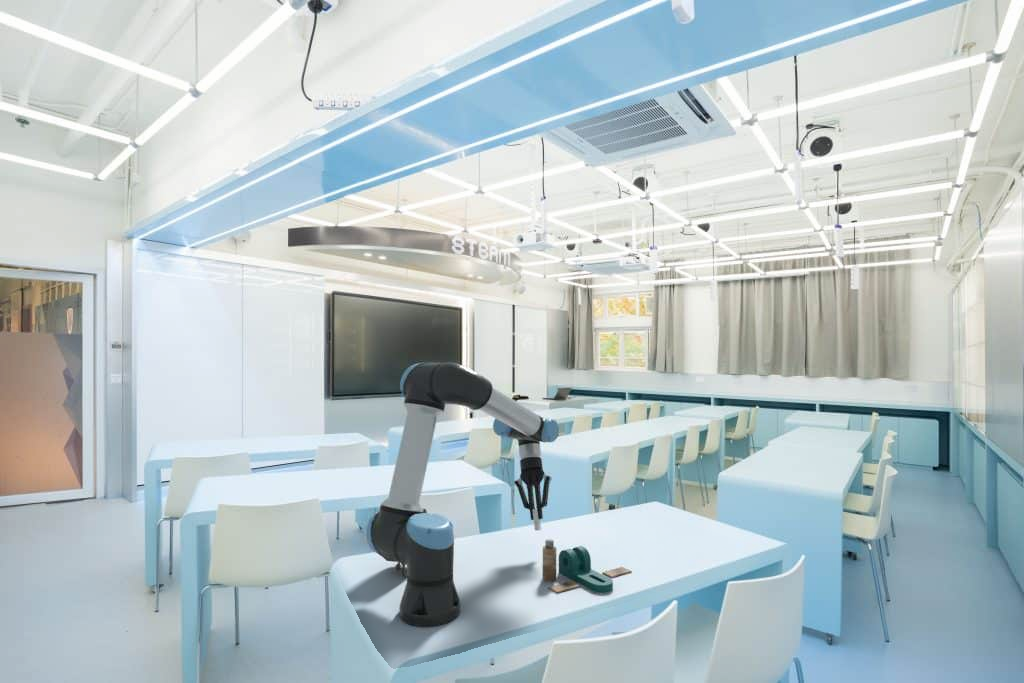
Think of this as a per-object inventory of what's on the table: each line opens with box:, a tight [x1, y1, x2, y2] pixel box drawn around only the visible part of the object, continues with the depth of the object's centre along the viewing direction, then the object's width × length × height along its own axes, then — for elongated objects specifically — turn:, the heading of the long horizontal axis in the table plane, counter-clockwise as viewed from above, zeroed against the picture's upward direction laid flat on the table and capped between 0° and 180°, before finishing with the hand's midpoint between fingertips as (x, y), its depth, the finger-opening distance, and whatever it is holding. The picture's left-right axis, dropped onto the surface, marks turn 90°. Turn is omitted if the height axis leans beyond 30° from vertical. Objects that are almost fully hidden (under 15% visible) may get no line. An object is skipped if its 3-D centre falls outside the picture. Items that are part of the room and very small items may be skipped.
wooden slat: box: [548, 566, 633, 594], centre depth 156 cm, size 28×4×1 cm, turn 122°
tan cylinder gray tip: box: [542, 539, 557, 583], centre depth 157 cm, size 4×4×11 cm
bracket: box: [558, 545, 614, 594], centre depth 156 cm, size 18×7×8 cm, turn 33°
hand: (538, 530), depth 177 cm, fingers closed
